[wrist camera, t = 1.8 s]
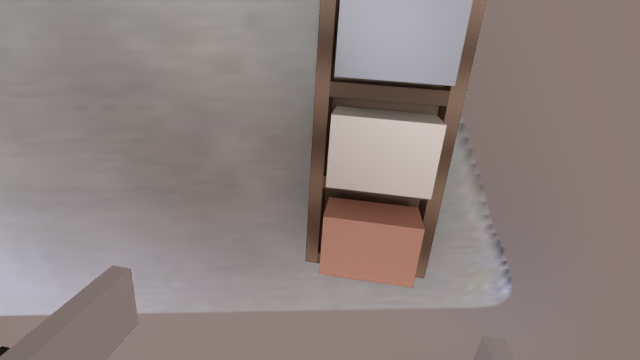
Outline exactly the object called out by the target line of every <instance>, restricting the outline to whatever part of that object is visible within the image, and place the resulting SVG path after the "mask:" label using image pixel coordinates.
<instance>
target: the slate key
mask: <svg viewBox="0 0 640 360" xmlns="http://www.w3.org/2000/svg"><path fill="white" fill-rule="evenodd" d="M472 3H473V0H340V8H339V21H338V34H337V47H336V60H335V73H334V77H345V78H358V79H371V80H383V81H396V82H409V83H421V84H434V85H447V86H455V83H456V79H457V74H458V69H459V64H460V60H461V55H462V50H463V45H464V41H465V36H466V31H467V26H468V22H469V17H470V12H471V7H472Z"/></svg>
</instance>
